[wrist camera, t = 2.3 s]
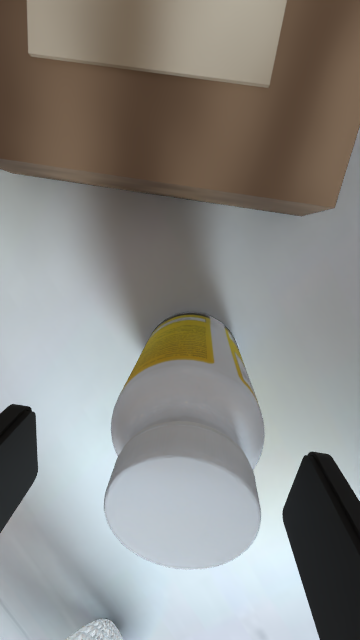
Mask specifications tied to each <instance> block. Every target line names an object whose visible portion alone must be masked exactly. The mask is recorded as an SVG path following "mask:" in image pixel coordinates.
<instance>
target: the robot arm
mask: <svg viewBox="0 0 360 640" xmlns="http://www.w3.org/2000/svg"><path fill="white" fill-rule="evenodd" d="M37 472H38V461H37V438H36V415H35V412H32V410H31V408H30V407H28V406H22V405H16V404H12V405H10V406H8V407H7V408H6V409H5V410H4V411H3V412H2V413H0V533H1V531H2V530H3V528H4V527H5V525H6V523H7V522H8V520H9V519H10V517H11V516H12V514H13V513H14V511H15V510H16V508H17V507H18V505H19V504H20V502H21V501H22V499H23V498H24V496H25V495H26V493H27V491H28V490H29V488H30V487H31V485H32V484H33V482H34V480H35V478H36V476H37ZM283 522H284V525H285V529H286V532H287V535H288V538H289V542H290V545H291V548H292V551H293V554H294V558H295V561H296V564H297V567H298V571H299V574H300V577H301V580H302V583H303V587H304V590H305V593H306V596H307V600H308V603H309V606H310V609H311V612H312V616H313V619H314V622H315V625H316V629H317V632H318V635H319V638H320V640H360V501H359V500H358V498H357V497H356V495H355V493H354V492H353V490H352V489H351V487H350V485H349V484H348V482H347V480H346V479H345V477H344V476H343V474H342V472H341V471H340V469H339V468H338V466H337V464H336V463H335V461H334V460H333V458H332V457H331V456H330V455H329V454H324V453H317V452H310V453H309V454H308V456H307V455H305V456H304V457H303V459H302V462H301V464H300V467H299V470H298V472H297V475H296V477H295V480H294V482H293V485H292V488H291V490H290V493H289V495H288V498H287V501H286V503H285V506H284V508H283Z"/></svg>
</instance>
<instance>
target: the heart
mask: <svg viewBox="0 0 360 640" xmlns="http://www.w3.org/2000/svg"><path fill="white" fill-rule="evenodd" d="M100 627H101V628H100ZM99 628H100V629H99ZM102 630H104V631H103V632H102ZM95 633H97V634H96V635H95V637H94V638H93V636H94V634H95ZM106 633H107V634H106ZM108 635H109V637H108ZM112 635H113V636H112ZM98 636H100V637H99V638H98V640H100V639H101V637H102V640H112V639H113V640H123V638H122V636H121V633H120V631H119V630H118V628H117V627H116V625H115V624H114V623H113V622H112V621H111V620H108V619H98V620H95V621H93V622H91V623H89V624H87V625H85V626H84V627H82V628H81V629H79V630H78V631H76V632H75V633H74V634H72V635H71V636H69V637H68V638H67V639H65V640H81V639H82V638H83V639H82V640H96V639H97V637H98Z"/></svg>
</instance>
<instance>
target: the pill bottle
mask: <svg viewBox="0 0 360 640" xmlns="http://www.w3.org/2000/svg"><path fill="white" fill-rule="evenodd" d="M111 435H112V442H113V445H114V448H115V451H116V453H117V456H118V458H117V460H116V463H115V466H114V469H113V472H112V475H111V478H110V481H109V483H108V486H107V489H106V493H105V499H104V511H105V516H106V520H107V523H108V525H109V527H110V529H111V530H112V532H113V534H114V535H115V536H116V537H117V539H118V540H119V541H120V542H121V543H122V544H123V545H124V546H125V547H126V548H128V549H129V550H130V551H132V552H133V553H135V554H136V555H138V556H140V557H141V558H143V559H146V560H148V561H150V562H153V563H156V564H159V565H162V566H165V567H169V568H175V569H205V568H210V567H216V566H219V565H223V564H225V563H227V562H230V561H232V560H233V559H235V558H237V557H238V556H240V555H241V554H242V553H243V552H245V551H246V550H247V549H248V548H249V547H250V545H251V544H252V543H253V541H254V540H255V538H256V536H257V533H258V531H259V527H260V521H261V509H260V504H259V498H258V493H257V488H256V482H255V476H254V473H253V469H254V468H255V466H256V464H257V463H258V460H259V458H260V456H261V452H262V449H263V444H264V423H263V418H262V414H261V410H260V407H259V404H258V401H257V399H256V396H255V393H254V390H253V387H252V385H251V382H250V379H249V377H248V374H247V371H246V368H245V366H244V363H243V360H242V357H241V354H240V352H239V349H238V346H237V343H236V341H235V339H234V337H233V335H232V334H231V332H230V331H229V330H228V328H227V327H226V326H225V325H224V324H223V323H221V322H220V321H219V320H217V319H215V318H213V317H211V316H209V315H206V314H202V313H196V312H187V313H180V314H177V315H174V316H172V317H170V318H168V319H166V320H164V321H163V322H162V323H161V324H160V325H158V326H157V328H156V329H155V330H154V331H153V333H152V334H151V336H150V338H149V340H148V342H147V344H146V346H145V348H144V349H143V351H142V353H141V355H140V357H139V359H138V361H137V363H136V365H135V367H134V369H133V371H132V372H131V374H130V376H129V378H128V380H127V382H126V384H125V386H124V388H123V390H122V391H121V393H120V395H119V397H118V400H117V402H116V404H115V407H114V411H113V415H112V421H111Z"/></svg>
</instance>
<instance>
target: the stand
mask: <svg viewBox="0 0 360 640" xmlns="http://www.w3.org/2000/svg"><path fill="white" fill-rule="evenodd" d="M359 127H360V0H0V169H2V170H5V171H8V172H10V173H15V174H21V175H28V176H35V177H41V178H48V179H55V180H62V181H68V182H75V183H82V184H88V185H95V186H102V187H109V188H115V189H122V190H129V191H135V192H142V193H149V194H156V195H162V196H169V197H176V198H182V199H189V200H196V201H203V202H209V203H216V204H223V205H229V206H236V207H243V208H250V209H256V210H263V211H270V212H276V213H283V214H290V215H297V216H304V215H308V214H312V213H316V212H320V211H324V210H328V209H332V208H335V205H336V202H337V199H338V195H339V192H340V189H341V185H342V182H343V179H344V176H345V172H346V169H347V166H348V163H349V159H350V156H351V153H352V150H353V146H354V143H355V140H356V136H357V133H358V130H359Z"/></svg>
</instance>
